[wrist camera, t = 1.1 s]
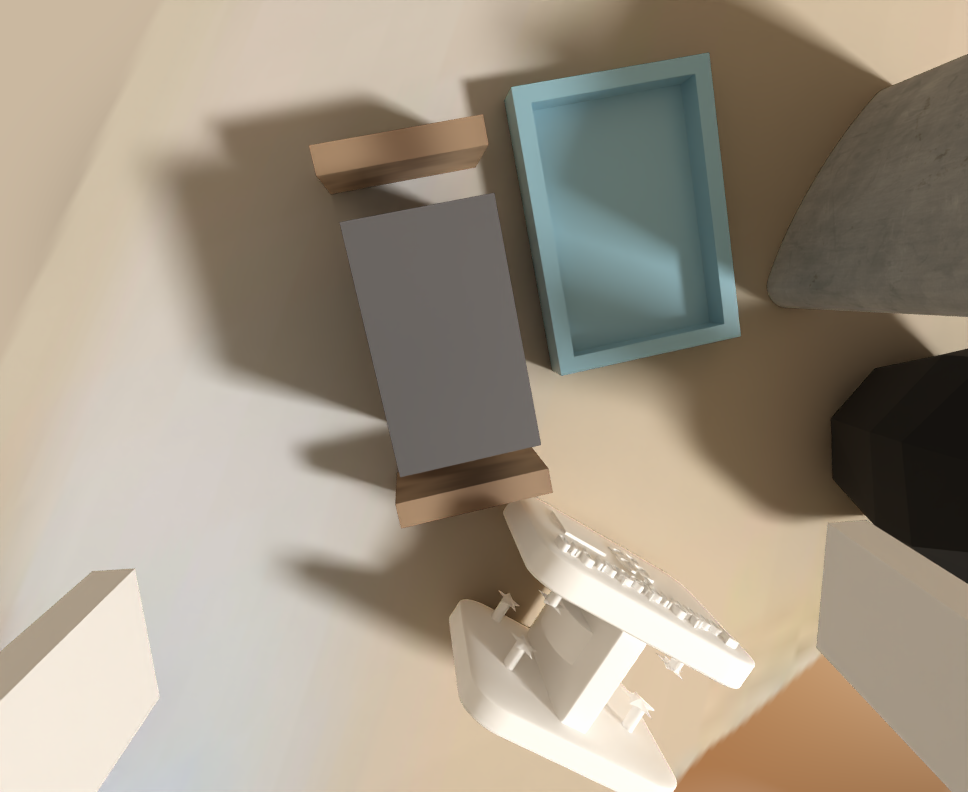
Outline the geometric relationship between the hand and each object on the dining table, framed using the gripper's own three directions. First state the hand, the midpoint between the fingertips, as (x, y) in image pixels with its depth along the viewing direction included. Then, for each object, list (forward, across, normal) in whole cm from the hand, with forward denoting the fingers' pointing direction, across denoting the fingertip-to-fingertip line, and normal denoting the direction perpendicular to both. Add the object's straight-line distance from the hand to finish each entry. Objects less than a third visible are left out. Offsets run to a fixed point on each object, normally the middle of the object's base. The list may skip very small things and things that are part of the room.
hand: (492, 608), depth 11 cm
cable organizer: (+28, -6, +17) cm, 33 cm away
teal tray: (+30, -11, -8) cm, 33 cm away
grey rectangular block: (+28, +2, -2) cm, 29 cm away
